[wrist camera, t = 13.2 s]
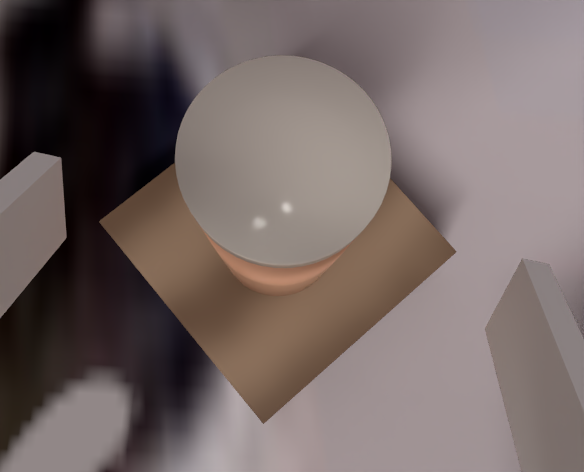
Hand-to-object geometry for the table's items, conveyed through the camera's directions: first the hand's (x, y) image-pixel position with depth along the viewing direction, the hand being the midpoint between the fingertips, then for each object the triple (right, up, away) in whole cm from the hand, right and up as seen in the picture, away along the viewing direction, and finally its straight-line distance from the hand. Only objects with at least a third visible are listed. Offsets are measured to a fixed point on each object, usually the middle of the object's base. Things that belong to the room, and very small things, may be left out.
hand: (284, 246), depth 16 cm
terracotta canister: (0, 0, +12) cm, 12 cm away
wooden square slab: (-1, 0, +15) cm, 15 cm away
